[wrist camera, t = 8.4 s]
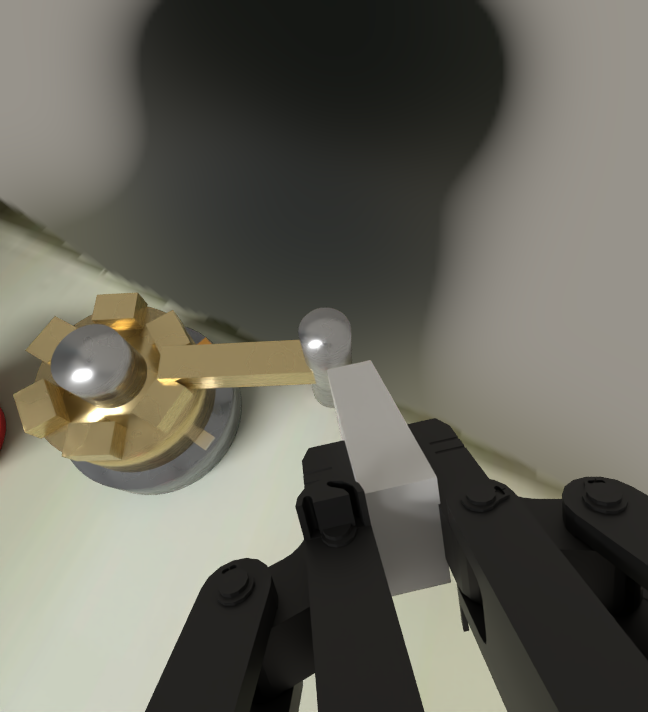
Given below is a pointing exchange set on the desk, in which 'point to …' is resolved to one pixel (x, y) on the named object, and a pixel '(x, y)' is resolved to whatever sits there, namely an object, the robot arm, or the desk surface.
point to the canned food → (2, 427)
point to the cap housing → (189, 462)
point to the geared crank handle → (157, 379)
